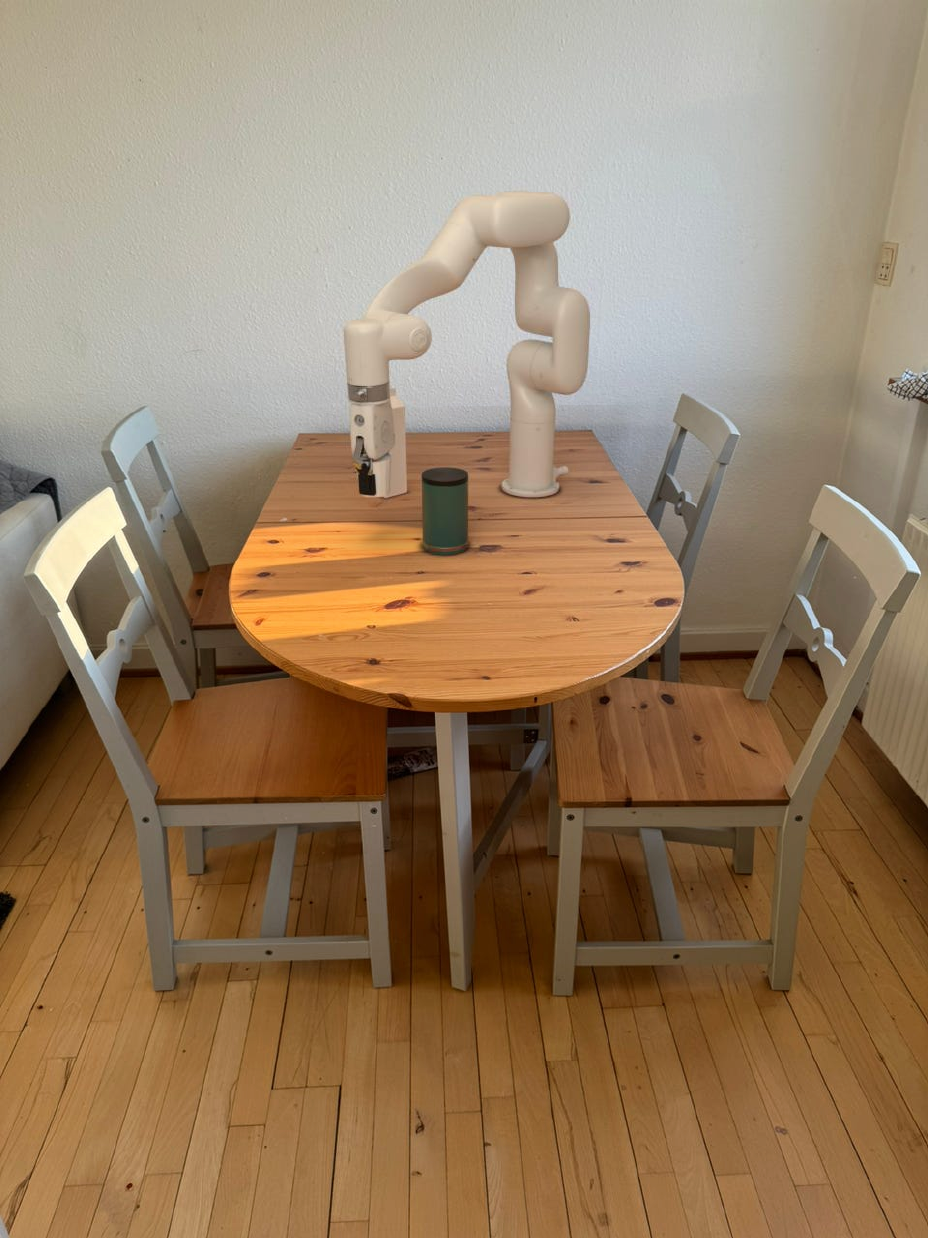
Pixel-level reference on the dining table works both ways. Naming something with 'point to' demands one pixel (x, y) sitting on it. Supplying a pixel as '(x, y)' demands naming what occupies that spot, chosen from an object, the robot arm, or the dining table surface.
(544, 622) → the dining table surface
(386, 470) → the shot glass
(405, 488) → the milk
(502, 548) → the dining table surface
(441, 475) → the green can
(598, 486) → the dining table surface
